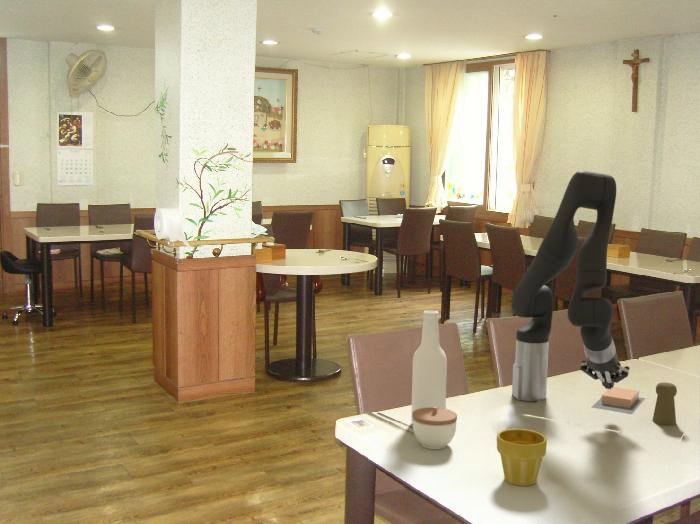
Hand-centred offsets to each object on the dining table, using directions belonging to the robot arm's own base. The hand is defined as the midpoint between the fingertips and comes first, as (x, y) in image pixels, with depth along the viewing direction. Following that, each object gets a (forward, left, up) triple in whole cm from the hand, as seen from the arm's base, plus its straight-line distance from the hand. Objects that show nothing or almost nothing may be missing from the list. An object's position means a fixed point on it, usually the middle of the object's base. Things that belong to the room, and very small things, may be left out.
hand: (608, 386), depth 211 cm
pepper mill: (+13, -6, -9) cm, 17 cm away
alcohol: (-50, -6, -9) cm, 51 cm away
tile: (+6, +8, -7) cm, 12 cm away
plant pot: (-36, -43, -9) cm, 57 cm away
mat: (+8, +11, -9) cm, 16 cm away
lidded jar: (-51, -21, -9) cm, 56 cm away
